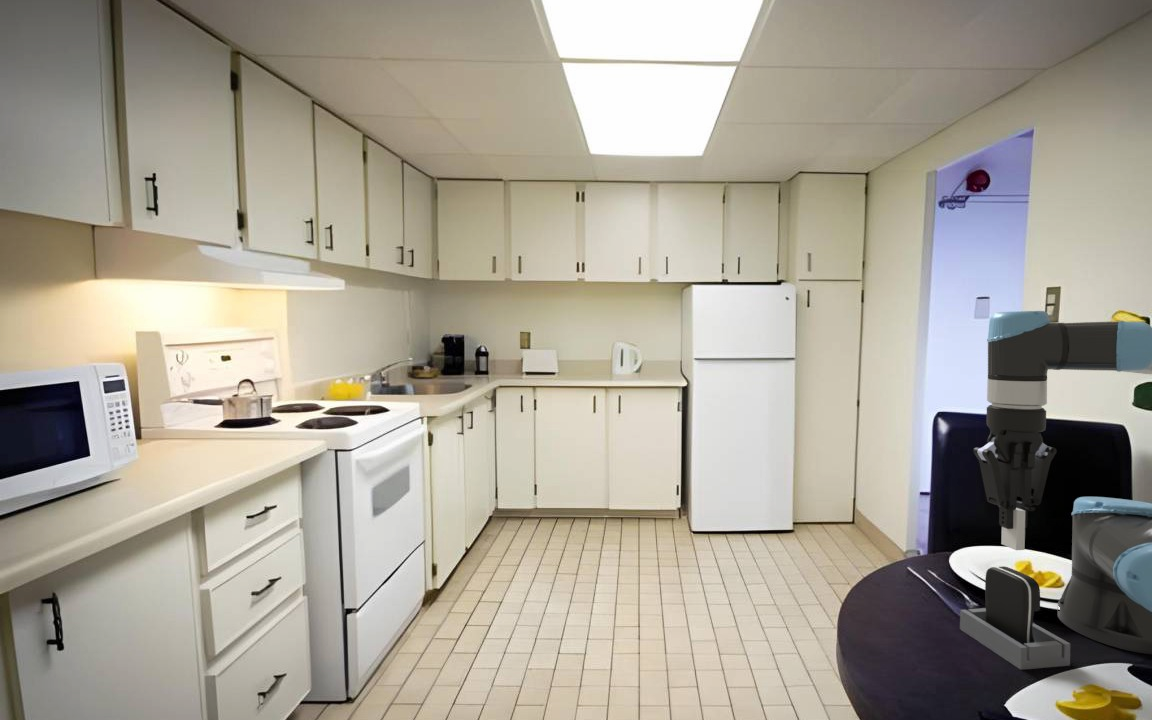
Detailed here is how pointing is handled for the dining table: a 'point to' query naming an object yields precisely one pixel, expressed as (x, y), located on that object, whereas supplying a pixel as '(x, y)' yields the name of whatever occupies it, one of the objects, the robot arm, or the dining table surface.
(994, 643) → the tray
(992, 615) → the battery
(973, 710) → the dining table surface
